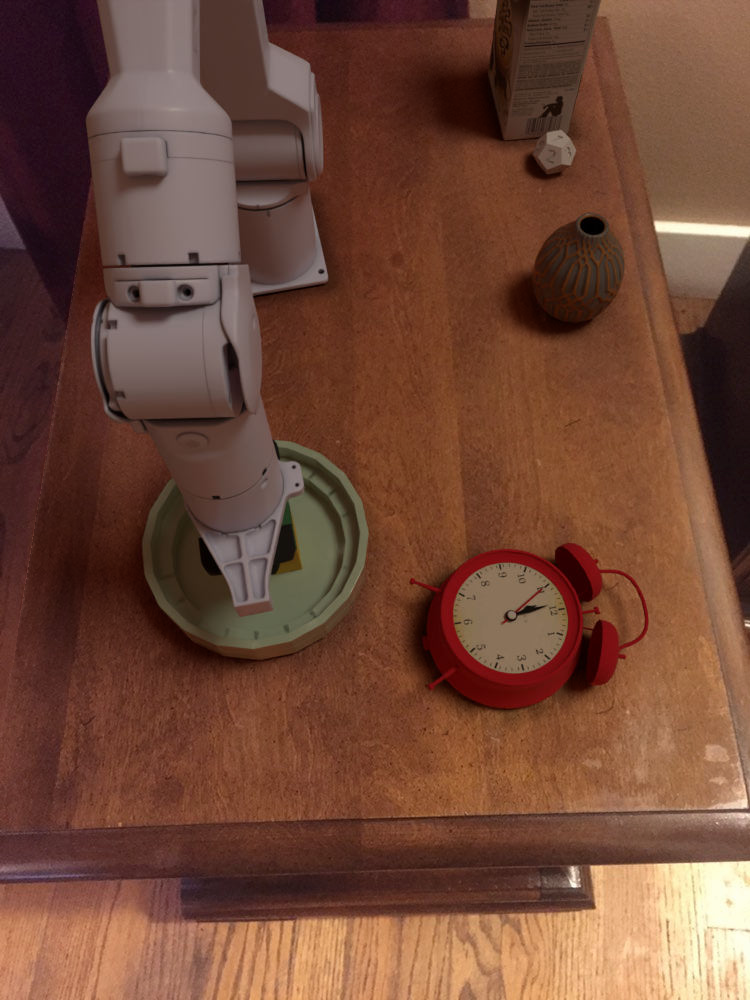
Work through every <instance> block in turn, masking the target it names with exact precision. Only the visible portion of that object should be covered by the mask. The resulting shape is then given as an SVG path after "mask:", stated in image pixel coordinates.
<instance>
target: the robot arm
mask: <svg viewBox="0 0 750 1000" xmlns="http://www.w3.org/2000/svg"><path fill="white" fill-rule="evenodd" d="M263 2H264V1H263V0H96V4H97V10H98V15H99V21H100V26H101V32H102V37H103V43H104V48H105V54H106V59H107V65H108V70H109V76H110V77H109V80H108V82H107V83H106V85H105V87H104V88H103V90H102V92H101V93H100V95H99V96H98V97H97V99H96V100H95V102H94V103H93V104H92V106H91V107H90V109H89V111H88V112H87V114H86V118H85V125H86V133H87V142H88V143H87V144H88V150H89V159H90V170H91V179H92V187H93V196H94V204H95V212H96V213H95V214H96V221H97V222H96V223H97V230H98V231H97V232H98V238H99V239H98V241H99V247H100V254H101V255H100V256H101V257H100V258H101V265H102V267H105V268H102V273H103V275H102V276H103V281H104V284H103V285H104V289H105V293H106V297H107V298H102V299H101V300H100V301H98V303H97V304H96V306H95V308H94V311H93V314H92V319H91V321H92V322H91V327H90V353H91V354H90V356H91V364H92V370H93V375H94V379H95V384H96V386H97V389H98V392H99V394H100V396H101V399H102V404H103V411H104V413H105V415H106V416H107V417H108V418H109V420H111V421H112V422H113V423H115V424H129V425H130V427H131V429H132V430H133V432H134V433H135V434H136V435H137V434H145V435H146V434H147V435H149V436H150V439H151V440H152V442H153V444H154V446H155V448H156V449H157V451H158V453H159V455H160V457H161V459H162V461H163V463H164V464H165V466H166V468H167V470H168V471H169V473H170V475H171V478H173V479H174V481H175V482H176V484H177V486H178V488H179V490H180V492H181V493H182V495H183V500H184V505H185V507H186V510H187V512H188V514H189V516H190V518H191V519H192V521H193V523H194V525H195V526H196V528H197V530H198V532H199V533H200V535H201V538H198V541H199V549H200V558H201V563H202V566H203V567H204V569H205V571H206V572H207V573H208V574H209V575H210V576H217V575H223V576H224V578H225V580H226V582H227V584H228V586H229V589H230V592H231V596H232V601H233V606H234V608H235V610H236V612H237V613H238V615H239V617H243V616H248V615H254V614H259V613H263V612H268V611H273V610H274V608H273V601H272V596H271V594H270V577H271V575H274V574H276V573H277V571H278V569H279V567H280V563H284V562H288V561H291V560H293V559H294V555H295V541H294V535H293V529H292V524H286V525H281V524H282V520H283V515H284V511H285V506H286V503H287V501H288V500H289V499H290V498H292V497H297V496H300V495H302V493H303V492H304V488H305V487H304V482H303V476H302V471H301V467H300V465H299V463H297V462H295V461H289V462H281V460H280V455H279V449H278V446H277V443H276V442H275V440H276V439H274V438H273V436H272V432H271V429H270V424H269V421H268V417H267V414H266V409H265V407H264V403H263V398H262V395H261V387H262V377H263V350H262V335H261V327H260V321H259V315H258V312H257V308H256V303H255V300H254V296H261V295H266V294H271V293H278V292H283V291H288V290H289V291H290V290H295V289H301V288H307V287H311V286H312V287H313V286H318V285H324V284H326V283H327V282H328V281H329V274H328V268H327V264H326V260H325V256H324V252H323V246H322V243H321V238H320V234H319V230H318V229H319V228H318V224H317V221H316V216H315V212H314V208H313V204H312V203H313V202H312V196H311V195H312V193H311V187H310V186H311V185H310V182H317V181H318V178H319V177H321V175H322V174H323V172H324V135H323V134H324V133H323V132H324V131H323V115H322V105H321V97H320V94H319V93H318V90H317V83H316V75H315V73H314V72H312V68H311V64H310V63H309V61H307V60H305V59H304V58H302V57H300V56H298V55H296V54H294V53H292V52H290V51H287V50H285V49H284V48H282V47H279V46H278V45H276V44H273V42H270V41H269V35H268V28H267V23H266V15H265V10H264V3H263ZM112 266H113V267H112ZM116 266H129V267H116ZM106 267H107V268H106Z"/></svg>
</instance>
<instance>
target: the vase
mask: <svg viewBox="0 0 750 1000" xmlns="http://www.w3.org/2000/svg"><path fill="white" fill-rule="evenodd" d="M625 264H626V263H625V255H624V251H623V248H622V244H621V243H620V240H619V239H618V237H617V236H616V234H615V233H614V232H613V231H612V229H611V228H610V224H609V221H608V220H607V219H606V218H605V216H603V215H602V214H600V213H596V212H587V213H583V214H581V215H579V217H578V218H577V219H575V220H574V221H571V222H568V223H565V224H564V225H562V226H560V227H558V228H556V230H554V231H553V232H552V233H551V234H550V235H549V236H548V237H547V238H546V239H545V241H544V242H543V244H542V245H541V247H540V248H539V250H538V252H537V255H536V257H535V261H534V264H533V269H532V289H533V293H534V295H535V299H537V302H538V304H539V306H540V307H541V308H542V310H543V311H545V312H546V314H548V315H549V316H551V317H553V318H554V319H556V320H559V321H560V322H566V323H581V322H586V321H589V320H591V319H594V318H596V317H597V316H599V315H600V314H602V313H603V312H604V311H605V310H606V309H607V308H608V307H609V306H610V305H611V304H612V302H613V301H614V300H615V298H616V296H617V295H618V293H619V290H620V289H621V286H622V283H623V280H624V275H625Z"/></svg>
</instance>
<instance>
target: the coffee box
mask: <svg viewBox="0 0 750 1000" xmlns="http://www.w3.org/2000/svg"><path fill="white" fill-rule="evenodd" d="M601 2H602V0H496V7H495V15H494V22H493V30H492V31H493V32H492V40H491V49H490V57H489V66H488V75H487V77H488V81H489V85H490V88H491V93H492V97H493V101H494V105H495V111H496V113H497V119H498V122H499V127H500V130H501V135H502V139H503V141H512V140H513V141H514V140H524V139H539V138H541V137H542V136H543V135H544V134H546V133H547V132H552V131H558V130H562V131H563V132H564V133H565V134H566V135H567V136H568V134H569V132H570V131H569V130H570V127H571V122H572V118H573V115H574V110H575V106H576V103H577V98H578V94H579V90H580V86H581V82H582V78H583V74H584V71H585V66H586V63H587V59H588V56H589V55H588V54H589V51H590V47H591V43H592V38H593V36H594V35H593V34H594V31H595V27H596V24H597V19H598V15H599V11H600V7H601Z"/></svg>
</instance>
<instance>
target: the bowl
mask: <svg viewBox="0 0 750 1000" xmlns="http://www.w3.org/2000/svg"><path fill="white" fill-rule="evenodd" d="M274 440H275V442H276V443H277V446H278V449H279V455H280V460H281V462H289V461H295V462H297V463H299V465H300V467H301V471H302V476H303V482H304V487H305V488H304V492H303V493H302V495H300V496H297V497H292V498H290V499H289V500H288V502H289V505H290V509H291V513H292V516H293V520H294V524H295V528H296V534H297V540H298V545H299V551H300V557H301V562H302V569H300V570H295V571H290V572H285V573H280V574H275V575H271V577H270V594H271V596H272V601H273V608H274V610H273V611H268V612H263V613H259V614H254V615H248V616H243V617H239V615H238V613H237V612H236V610H235V608H234V606H233V601H232V596H231V592H230V589H229V586H228V584H227V582H226V580H225V578H224V576H223V575H217V576H210V575H209V574H208V573H207V572H206V571H205V569H204V567H203V566H202V563H201V558H200V549H199V541H198V538H201V535H200V533H199V532H198V530H197V528H196V526H195V525H194V523H193V521H192V519H191V518H190V516H189V514H188V512H187V510H186V507H185V505H184V500H183V495H182V493H181V492H180V490H179V488H178V486H177V484H176V482H175V481H174V479H173V477H171V478H170V479H169V480H168V481H167V482H166V484H165V486H164V487H163V489H162V490H161V492H160V494H159V495H158V497H157V498H156V500H155V502H154V503H153V505H152V507H151V508H150V510H149V511H148V516H147V520H146V523H145V524H146V525H145V528H144V532H143V536H142V540H141V550H142V561H143V573H144V578H145V580H146V582H147V584H148V586H149V588H150V591H151V593H152V595H153V597H154V599H155V601H156V603H157V605H158V607H159V608H160V609H161V610H162V612H163V613H164V614H165V615H166V616H167V617H168V619H169V620H170V621H171V622H172V623H173V624H174V625H175V626H176V627H177V628H178V629H179V630H180V631H182V633H183V634H185V635H186V637H188V639H189V640H190V641H191V642H193V643H195V644H197V645H199V646H202V647H204V648H206V649H207V650H209V651H212V652H214V653H216V654H218V655H220V656H224V657H228V658H229V657H230V658H240V659H246V660H258V661H259V660H260V661H262V660H267V659H271V658H276V657H281V656H286V655H290V654H292V655H293V654H295V653H297V652H299V651H301V650H303V649H304V648H306V647H308V646H311V645H312V644H313V643H315V642H318V641H319V640H321V639H323V638H325V637H326V636H327V635H329V634H330V633H331V631H332V630H334V629H335V628H336V627H337V625H338V624H339V623H340V622H341V621H342V620H343V619H344V618H345V617H346V616H347V615H348V614H349V613H350V612H351V610H352V609H353V606H354V605H355V603H356V600H357V599H358V596H359V594H360V592H361V590H362V588H363V586H364V584H365V582H366V579H367V572H368V566H369V556H370V549H371V548H370V547H371V546H370V532H369V527H368V522H367V518H366V513H365V509H364V503H363V500H362V499H361V497H360V495H359V494H358V492H357V490H356V488H355V487H354V486H353V484H352V482H351V481H350V479H349V477H348V476H347V474H346V473H345V472H344V471H343V470H342V469H340V468H339V467H338V466H337V465H335V464H334V463H333V462H332V461H331V460H329V458H327V457H326V456H325V455H323V454H322V453H320V452H319V451H316V450H314V449H311V448H308V447H306V446H303V445H301V444H299V443H296V442H294V441H291V440H290V441H289V440H281V439H280V440H278V439H274Z"/></svg>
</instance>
